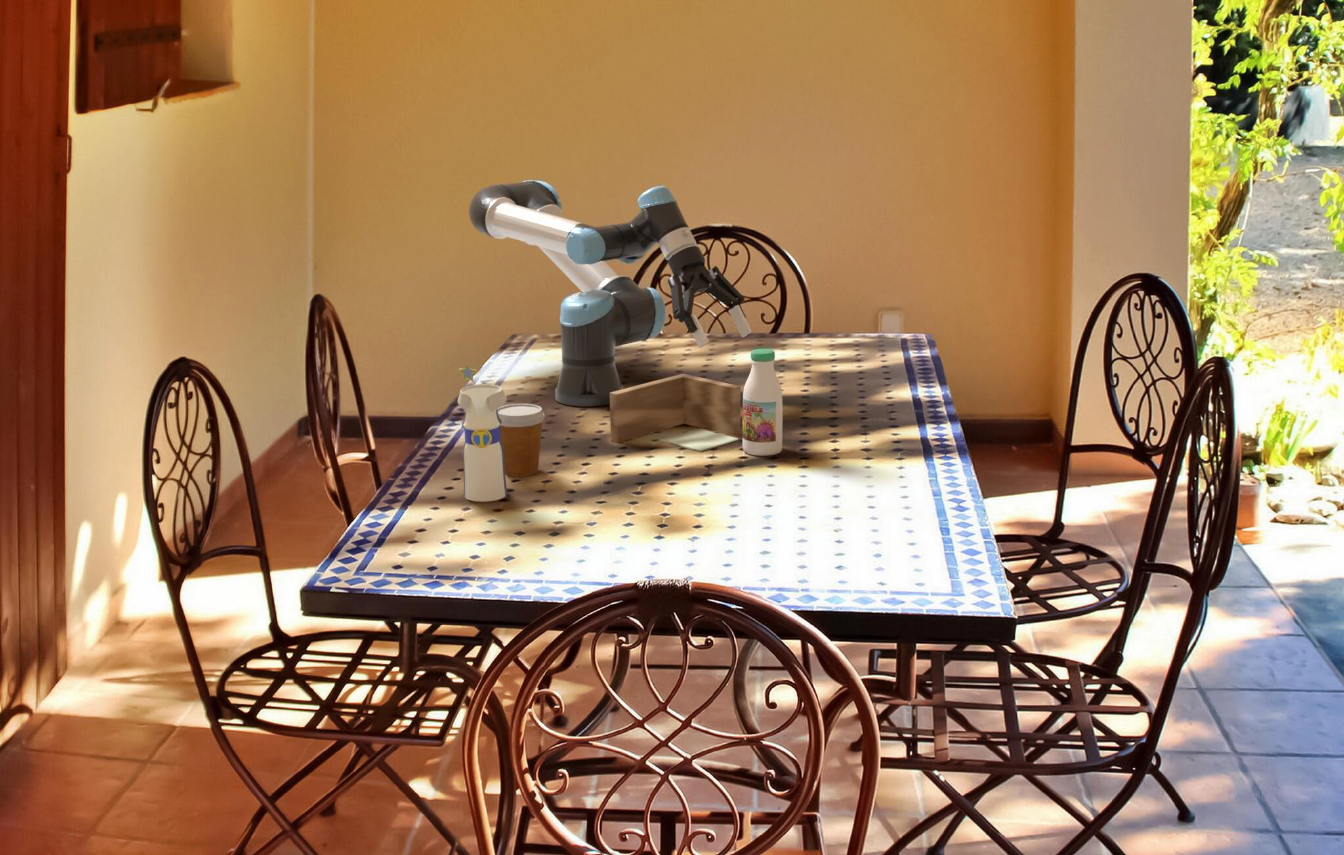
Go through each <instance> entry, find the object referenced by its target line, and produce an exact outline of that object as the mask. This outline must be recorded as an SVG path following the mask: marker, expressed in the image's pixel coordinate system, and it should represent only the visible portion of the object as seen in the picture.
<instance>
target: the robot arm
mask: <svg viewBox="0 0 1344 855" xmlns="http://www.w3.org/2000/svg"><path fill="white" fill-rule="evenodd" d="M559 200H560V196H559V194H558V192H557V190H555V188H554V187H553V186H552V185H551V184H549V183H548V182H545V181H542V180H532V179H531V180H529V179H528V180H524V181H520V182H510V183H502V184H493V185H491V184H490V185H487V186H486V187H485V186H484V187H483V188H481V189H480V190H478V191H477V192H476V193H475V194H474V195H473V197H472V199H471V201H470V203H469V208H468V215H469V220H470V222H471V224H472V226H473V227H474V228H475V230H477V231H478V232H479V233H481V234H482V235H485V236H487V237H491V238H493V239H498V240H504V239H506V238H509V239H513V240H516V241H517V240H518V241H520V242H523V243H525V244H527V245H529V246H536V247H537V248H539V250H541V252H543V253H544V254H545V255H546V256H547V257H548V259H550V260H551V261H552V263H554V264H555V266H557V268H559V270H560V271H561V272H563V274H564V275H565V276H566V277H567V278H568V279H569V280H570V281H571V282H572V283H573V284H574V285H575V286H576V287H577V288H578V289H579V290H580V291H578V292H575V293H572V294H570V295H567V296H566V297H565V298H563V300H562V301H561V304H560V316H559V322H560V336H561V341H560V342H561V361H562V364H561V365H562V366H561V369H560V373H559V378H558V382H557V385H556V386H555V389H554V390H555V393H554V394H555V395H554V396H555V400H556V401H557V402H558V403H560V404H563V405H568V406H574V407H598V406H599V407H600V406H605V405H606V406H607V405H610V392H614V391H618V390H622V389H624V385H623V384H622V382H621V378H620V375H619V372H618V369H617V366H616V362H615V360H616V359H615V354H616V353H615V347H621V346H623V345H624V346H625V345H629V344H634V343H638V342H646V341H648V340H650V339H653V338H655V337H657V336H658V335H659V334H660V333H661V332H662V330H663V328H664V327H665V326H664V325H665V324H666V317H667V316H666V315H667V313H666V304H665V300H664V298H663V297H662V295H661V293H660V292H659V291H658V290H656V289H655V288H653V287H649V286H644V287H640V286H639V285H638V284H637V283H636V282H635V281H634V280H633V279H632V278H631V277H629V276H627V275H618V273H616V271H615V270H614V269H613V268H611V267H610V266H609V265H608V264H607V263H606V262H607V261H612V260H613V261H614V260H618V261H619V262H621V263H625V264H629V265H630V264H634V263H636V262H637V261H639V260H640V259H642V258H644V257H645V256H646V255H647V253H648V252H649V251H650V250H651V249H653V247H655V246H656V245H657V244H658V246H659V248H660V250H661V252H662V254H663V256H664V259H665V260H666V261H667V264H668V266H669V268H670V270H671V272H672V274H673V275H672V276H671V277H670V278H668V279H667V283H668V285H669V288H670V294H671V295H670V296H671V297H670V298H671V306H672V307H671V308H672V317H673V318H674V320H678V321H679V323H683V322H684V324H685V326H686V328H687V331H688V332H689V333H690V334H691V335H692V337H693V339H694V341H695V343H696V345H697V347H698V349H701V348H703V347H704V346H705V345H707V344H708V343H710V341H709V339H708V336H707V335H706V333H705V331H704V329H703V327H702V324H701V322H700V321H699V319H698V316H697V314H693V307H694V300H695V295H696V294H698V293H705V294H710V295H711V296H713V297H714V298H716V299H717V300H718V301H719V302H721V303H722V304H724V306H726V307H727V308H729V309H730V310H728V313H729V314H730V317H731V319H732V321H733V322H734V325H735V327H736V328H737V331H738V332H739V334H740V337H741V338H745V337H747V336H748V334H751V332H752V329H751V326H750V324H749V323H748V321H747V316H746V314H745V312H744V310H743V309H742V306H741V304H742V303H744V301H746V300H745V299H746V298H745V297H744V296H743V295H742V293H741V292H739V291H738V289H737V288H736V287H735V286H734V285H733V284H732V283H731V282H730V281H729V280H728V279H727V278H726V277H725V276H724V275H723V274H722V272H721V271H720V268H718V267H717V266H716V265H715V266H713V267H712V268H711V269H708V268H707V267H706V265H705V263H706V259H705V257H704V254H703V252H702V250H701V248H700V246H697V241H696V239H695V237H694V235H693V233H692V231H691V229H690V227H689V226H688V224H687V222H686V220H685V217H684V215H683V214H682V211H681V209H680V206H679V205H678V202H677V200H676V199H675V197H674V196H673V194H672V192H671V191H670V189H669V187H667V186H666V185H659V186H653V187H651V188H649V189H647V190H646V191H644V192H643V193H641V194H640V196H638V199H637V204H638V207H639V210H640V212H638V213H637V215H636V216H635V217H633V218H632V219H631V220H630V221H628V222H622V223H615V224H609V225H608V224H607V225H602V226H601V225H600V226H594V225H589V224H585V223H583V222H579V221H576V220H572V219H568V218H565V217H563V216H564V215H563V213H564V212H563V210H562V208H563V206H562V202H561V201H559Z"/></svg>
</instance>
